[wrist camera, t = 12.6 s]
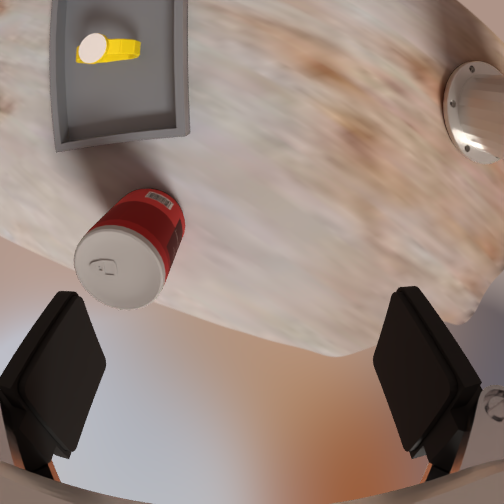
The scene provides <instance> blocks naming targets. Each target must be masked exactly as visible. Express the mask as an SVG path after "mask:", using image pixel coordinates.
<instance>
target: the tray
mask: <svg viewBox="0 0 504 504" xmlns="http://www.w3.org/2000/svg"><path fill="white" fill-rule="evenodd" d="M93 33H100V34H103V35H105V36H106V37H107V38H108V39H133V40H137V41H140V42H141V45H140V55H139V57H137V58H134V59H128V60H120V61H112V62H107V63H106V62H105V63H96V64H87V63H77V62H76V49H77V47H78V46H79V45H80V44H81V42H82V41H83V40H84V38H85V37H87V36H88V35H90V34H93ZM50 95H51V110H52V122H53V132H54V141H55V149H56V153H57V152H62V151H68V150H73V149H79V148H85V147H92V146H99V145H106V144H113V143H121V142H129V141H138V140H148V139H158V138H170V137H183V136H187V135H188V134H190V116H189V87H188V0H52V9H51V23H50Z"/></svg>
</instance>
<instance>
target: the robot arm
mask: <svg viewBox="0 0 504 504" xmlns="http://www.w3.org/2000/svg"><path fill="white" fill-rule="evenodd" d="M443 110H444V119H445V124H446V127H447V130H448V133H449V136H450V138H451V140H452V142H453V144H454V145H455V146H456V148H457V149H458V151H459V152H460V153H461V154H463V155H464V156H465V157H466V158H468V159H470V160H472V161H474V162H476V163H480V164H491V163H494V162H497V161H498V160H500V159H503V160H504V75H502V73H501V72H500V71H499V70H497V69H496V68H495V67H494V66H492V65H490V64H488V63H485V62H481V61H471V62H466V63H464V64H462V65H460V66H459V67H458V68H456V69H455V70H454V72H453V73H452V74H451V76H450V78H449V80H448V82H447V84H446V88H445V92H444V101H443ZM373 364H374V367H375V370H376V373H377V375H378V378H379V381H380V383H381V386H382V388H383V391H384V394H385V396H386V399H387V402H388V405H389V408H390V410H391V413H392V416H393V419H394V422H395V424H396V427H397V430H398V433H399V436H400V438H401V442H402V445H403V448H404V449H405V451H409V452H410V455H411V458H412V459H414V458H417V457H421V456H424V455H427V458H428V460H429V463H428V466H427V468H426V470H425V473H424V475H423V477H422V479H421V481H420V483H419V484H417V485H414V486H411V487H407V488H403V489H399V490H396V491H391V492H388V493H383V494H379V495H375V496H371V497H367V498H361V499H357V500H351V501H345V502H340V503H333V504H504V387H503V386H499V385H490V386H488V387H486V388H485V389H484V390H482V388H481V387H480V384H481V383H482V382H481V380H480V378H479V377H478V375H477V373H476V372H475V370H474V368H473V367H472V366H471V364H470V362H469V360H468V359H467V357H466V356H465V354H464V353H463V351H462V350H461V348H460V346H459V345H458V343H457V342H456V340H455V339H454V337H453V336H452V334H451V333H450V331H449V330H448V328H447V327H446V325H445V324H444V322H443V321H442V320H441V318H440V317H439V315H438V314H437V312H436V311H435V310H434V308H433V307H432V305H431V304H430V303H429V301H428V300H427V299H426V297H425V296H424V294H423V293H422V292H421V290H420V289H419V288H418V287H417V286H409V287H400V288H398V289H397V291H396V292H394V293H393V294H392V296H391V300H390V303H389V307H388V310H387V314H386V317H385V321H384V324H383V328H382V331H381V334H380V337H379V341H378V344H377V347H376V350H375V353H374V356H373ZM105 368H106V360H105V356H104V354H103V352H102V349H101V347H100V344H99V342H98V339H97V337H96V334H95V332H94V329H93V326H92V323H91V321H90V318H89V315H88V313H87V310H86V307H85V304H84V301H83V299H82V298H81V297H79V296H78V294H77V293H76V292H71V291H59V292H58V293H57V294H56V295H55V296H54V298H53V299H52V300H51V302H50V303H49V304H48V306H47V307H46V309H45V310H44V311H43V313H42V314H41V316H40V317H39V319H38V320H37V321H36V323H35V324H34V325H33V327H32V328H31V330H30V331H29V333H28V334H27V336H26V337H25V339H24V340H23V342H22V343H21V345H20V346H19V348H18V349H17V351H16V352H15V354H14V355H13V357H12V359H11V360H10V362H9V364H8V365H7V367H6V368H5V370H4V371H3V373H2V375H1V376H0V504H151V503H145V502H139V501H133V500H128V499H123V498H117V497H113V496H109V495H104V494H100V493H96V492H92V491H88V490H85V489H81V488H78V487H74V486H71V485H68V484H64V483H61V481H60V479H59V477H58V474H57V472H56V470H55V467H54V465H53V462H52V456H53V454H55V455H57V456H60V457H63V458H67V459H69V457H70V455H71V451H72V452H73V451H75V449H76V447H77V445H78V442H79V439H80V436H81V432H82V430H83V427H84V424H85V421H86V418H87V416H88V413H89V410H90V407H91V405H92V402H93V399H94V396H95V394H96V391H97V389H98V386H99V383H100V381H101V378H102V376H103V373H104V371H105Z"/></svg>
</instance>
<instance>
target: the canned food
mask: <svg viewBox="0 0 504 504" xmlns="http://www.w3.org/2000/svg"><path fill="white" fill-rule="evenodd" d="M184 231H185V219H184V216H183V213H182V210H181V208H180V206H179V205H178V203H177V202H176V201H175V200H174V199H173V198H172V197H171V196H170V195H168V194H166V193H165V192H162V191H159V190H156V189H139V190H135V191H133V192H131V193H128V194H127V195H126V196H125V197H123V198H122V199H121V200H120V201H119V202H118V203H117V204H116V205H115V206H114V207H113V208H111V209H110V210H109V211H108V212H107V213H106V214H105V215H104V216H103V217H102V218H101V219H100V220H99V221H98V222H97V223H96V224H95V225H94V226H93V227H92V228H91V229H90V230H89V231H88V232H87V233H86V234H85V235H84V237H83V238H82V239H81V241H80V242H79V244H78V245H77V248H76V250H75V255H74V268H75V271H76V275H77V277H78V279H79V281H80V283H81V284H82V285H83V287H84V289H85V290H86V291H87V292H88V293H89V294H90V295H91V296H93V297H94V298H95V299H96V300H98V301H99V302H101V303H103V304H105V305H107V306H109V307H112V308H116V309H120V310H136V309H140V308H143V307H146V306H147V305H149V304H151V303H152V302H153V301H154V300H155V299H156V298H157V297H158V295H159V294H160V292H161V290H162V289H163V286H164V284H165V282H166V279H167V276H168V274H169V271H170V268H171V266H172V263H173V260H174V258H175V255H176V253H177V250H178V247H179V245H180V242H181V240H182V237H183V235H184Z"/></svg>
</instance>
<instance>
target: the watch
mask: <svg viewBox="0 0 504 504" xmlns="http://www.w3.org/2000/svg"><path fill="white" fill-rule="evenodd" d="M140 45H141V42H140V41H137V40H133V39H108V38H107V37H106V36H105V35H103V34H100V33H93V34H90V35H88V36H87V37H85V38H84V40H83V41H82V42H81V44H80V45H79V46H78V47H77V49H76V62H77V63H87V64H96V63H105V62H106V63H107V62H112V61H120V60H128V59H134V58H137V57H139V55H140Z"/></svg>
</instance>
